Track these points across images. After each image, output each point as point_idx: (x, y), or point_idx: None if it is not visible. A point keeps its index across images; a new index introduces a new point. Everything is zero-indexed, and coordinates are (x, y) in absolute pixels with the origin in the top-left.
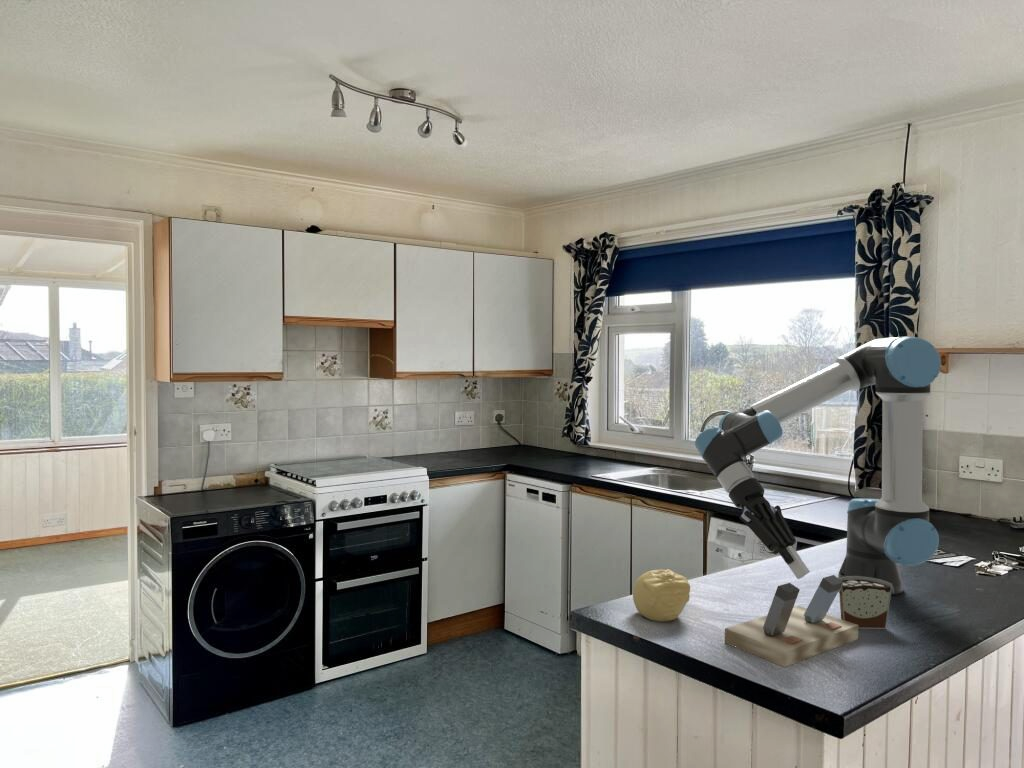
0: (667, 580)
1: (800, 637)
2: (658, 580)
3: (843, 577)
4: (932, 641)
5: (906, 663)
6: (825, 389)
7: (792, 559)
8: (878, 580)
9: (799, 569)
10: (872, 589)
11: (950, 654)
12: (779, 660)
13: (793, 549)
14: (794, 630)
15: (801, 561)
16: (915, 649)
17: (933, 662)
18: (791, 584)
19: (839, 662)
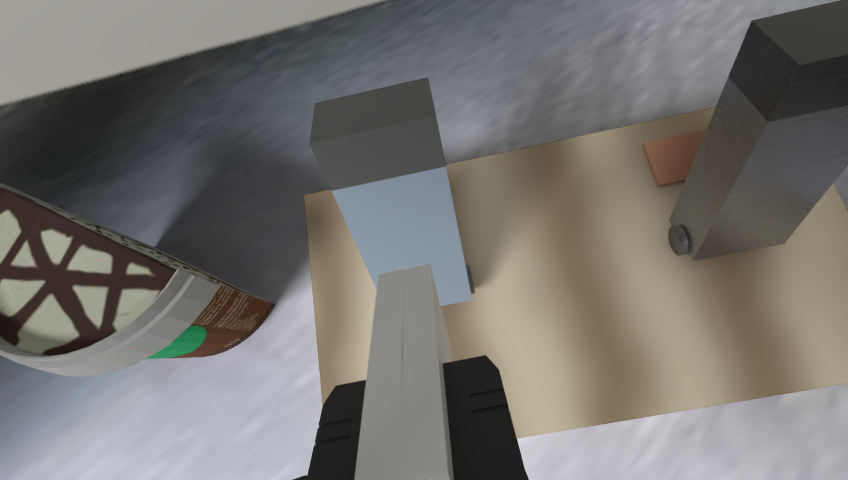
0: None
1: (626, 173)
2: None
3: (58, 355)
4: (140, 129)
5: (360, 46)
6: None
7: (461, 371)
8: None
9: (439, 317)
10: (74, 221)
11: (195, 55)
12: None
13: (377, 434)
14: (596, 234)
15: (391, 326)
16: (242, 104)
17: (288, 33)
18: (796, 50)
19: (542, 101)
